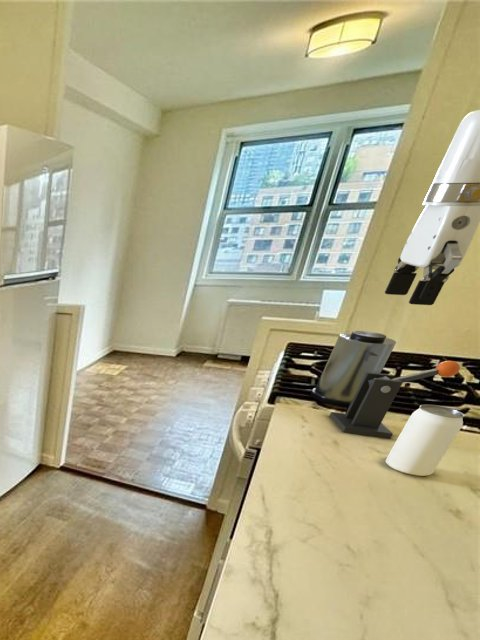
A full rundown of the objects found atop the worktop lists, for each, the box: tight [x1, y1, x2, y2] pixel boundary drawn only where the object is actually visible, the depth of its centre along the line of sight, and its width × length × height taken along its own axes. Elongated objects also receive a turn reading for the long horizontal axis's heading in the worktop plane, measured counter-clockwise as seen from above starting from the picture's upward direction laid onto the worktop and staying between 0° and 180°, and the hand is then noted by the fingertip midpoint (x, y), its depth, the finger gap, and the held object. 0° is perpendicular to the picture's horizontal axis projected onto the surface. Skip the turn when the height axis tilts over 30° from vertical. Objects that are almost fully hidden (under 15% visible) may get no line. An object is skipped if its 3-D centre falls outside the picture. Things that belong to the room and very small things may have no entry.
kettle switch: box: [368, 360, 461, 387], centre depth 100 cm, size 13×3×3 cm, turn 64°
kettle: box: [309, 330, 397, 409], centre depth 117 cm, size 11×14×17 cm
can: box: [385, 404, 466, 477], centre depth 89 cm, size 6×6×12 cm
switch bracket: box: [328, 372, 404, 439], centre depth 105 cm, size 8×9×12 cm
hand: (407, 299), depth 90 cm, fingers open, 9 cm apart
